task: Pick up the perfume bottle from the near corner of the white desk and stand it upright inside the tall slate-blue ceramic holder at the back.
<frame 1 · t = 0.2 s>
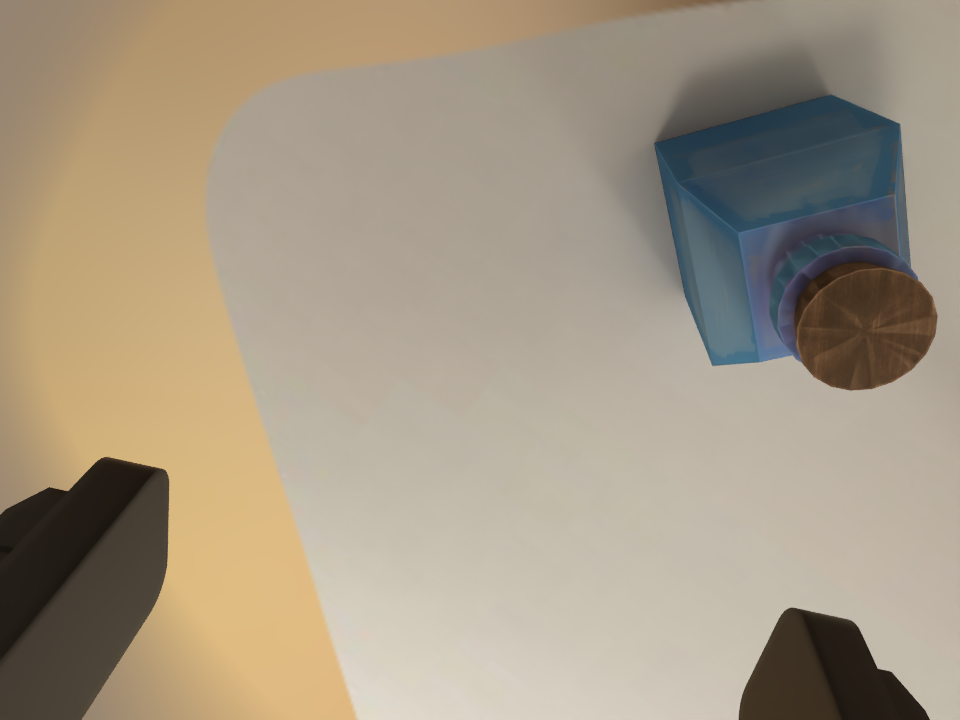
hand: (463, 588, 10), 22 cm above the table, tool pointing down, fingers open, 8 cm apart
perfume bottle: (752, 200, 30), on the table
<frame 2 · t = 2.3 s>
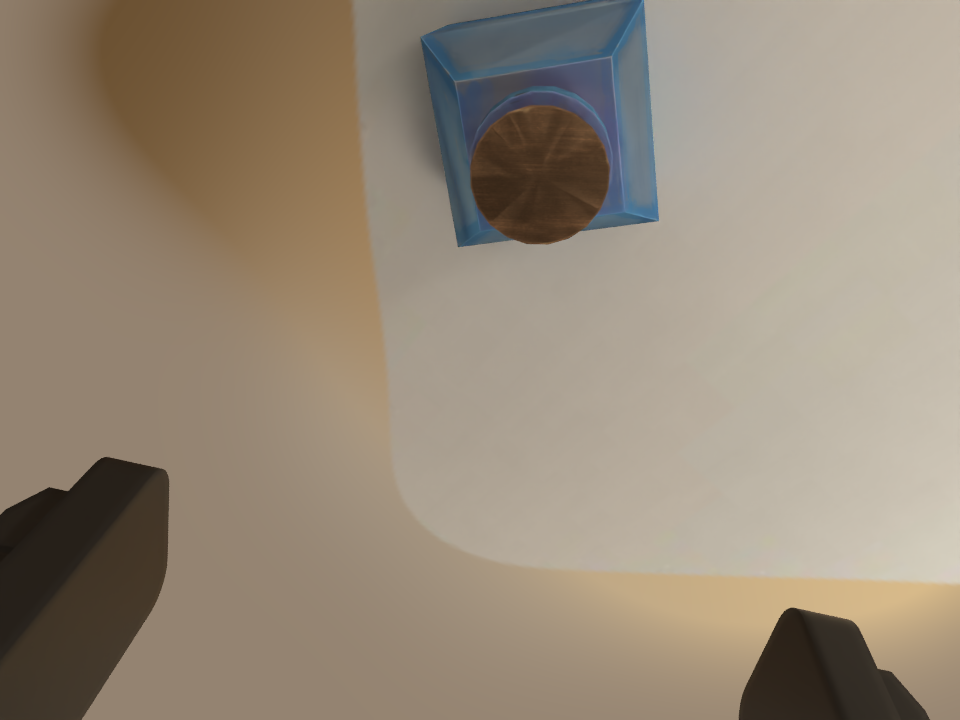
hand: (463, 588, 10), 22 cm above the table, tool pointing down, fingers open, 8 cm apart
perfume bottle: (546, 101, 29), on the table
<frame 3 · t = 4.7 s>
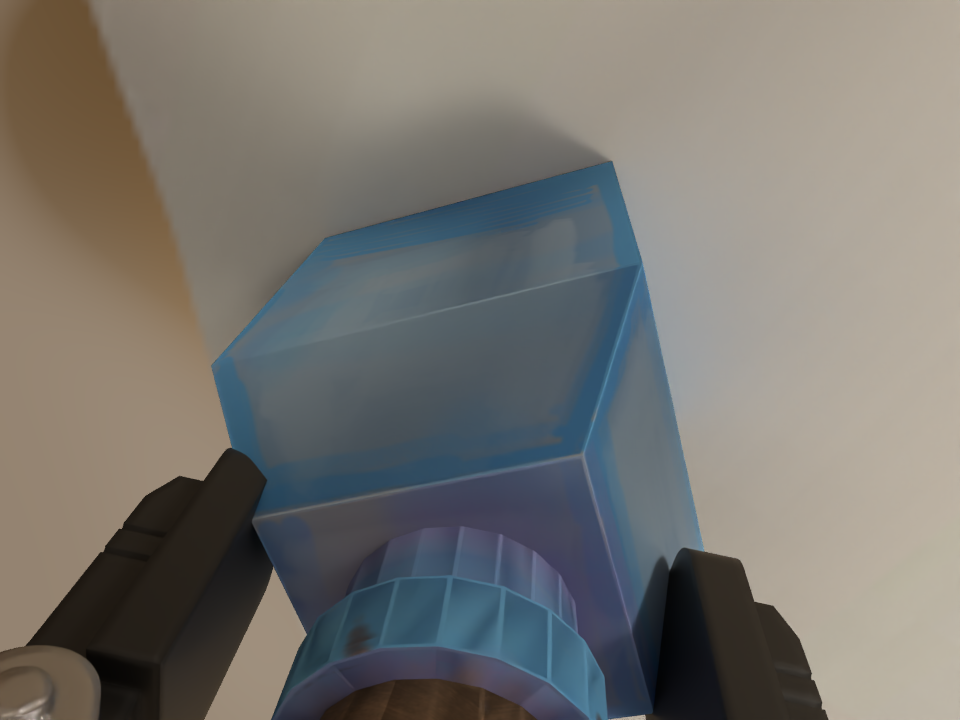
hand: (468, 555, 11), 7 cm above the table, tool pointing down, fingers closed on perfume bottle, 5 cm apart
perfume bottle: (503, 331, 18), on the table, touching gripper
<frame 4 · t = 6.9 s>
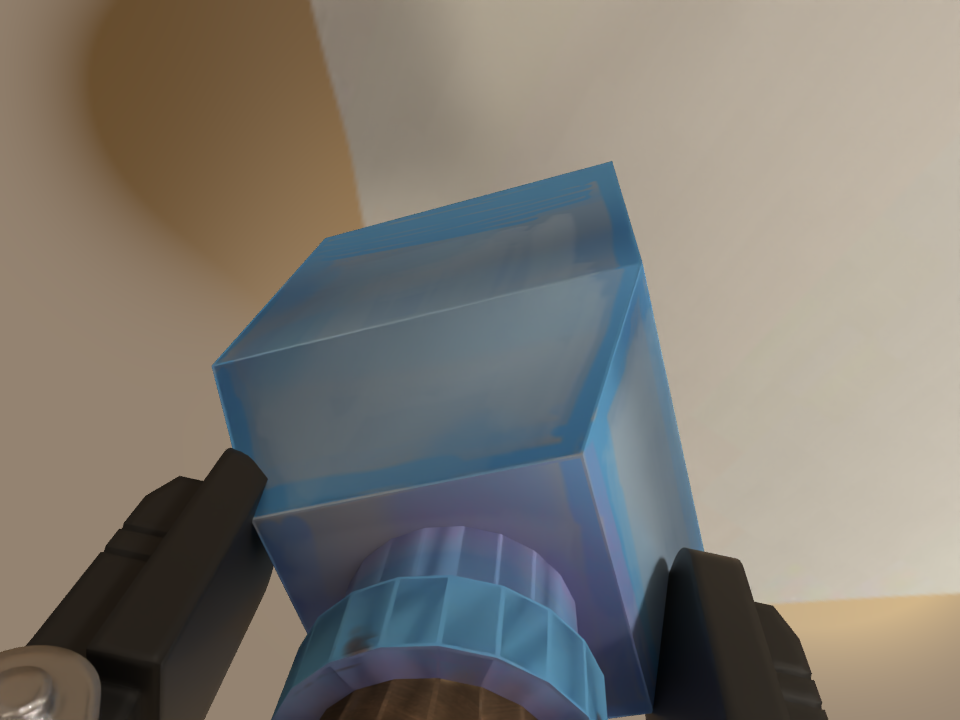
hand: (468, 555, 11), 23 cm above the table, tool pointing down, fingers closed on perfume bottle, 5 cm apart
perfume bottle: (504, 331, 18), point 15 cm above the table, touching gripper
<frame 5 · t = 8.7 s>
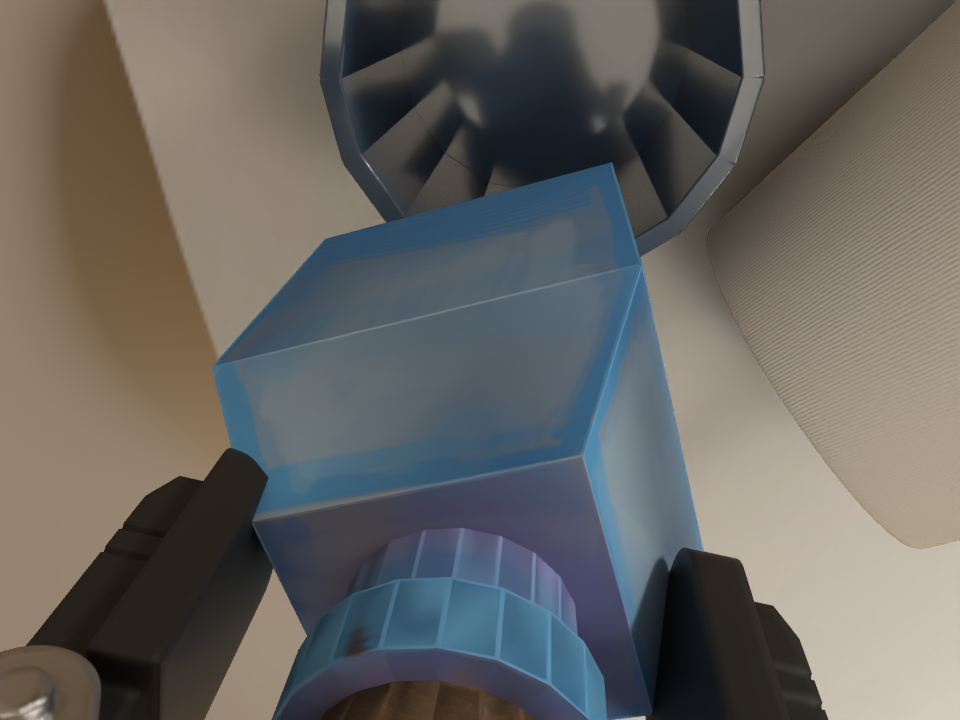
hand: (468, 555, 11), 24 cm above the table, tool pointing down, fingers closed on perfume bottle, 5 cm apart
perfume bottle: (503, 331, 18), point 16 cm above the table, touching gripper
holder: (542, 48, 30), on the table
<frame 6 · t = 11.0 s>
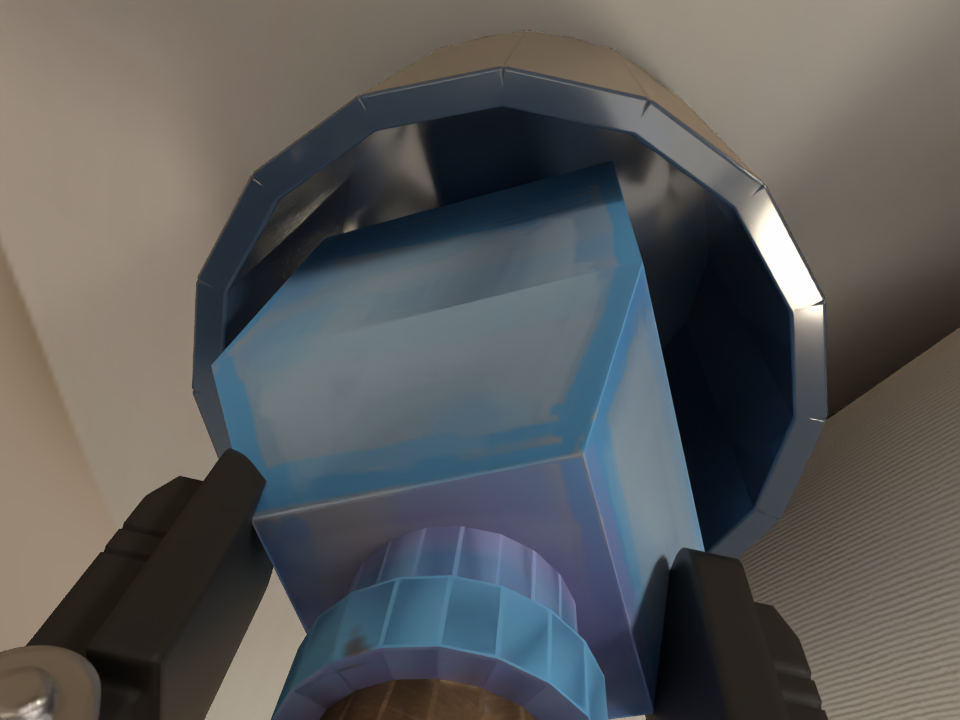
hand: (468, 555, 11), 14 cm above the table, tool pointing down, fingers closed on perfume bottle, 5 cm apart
perfume bottle: (504, 330, 18), point 7 cm above the table, touching gripper
holder: (522, 242, 24), on the table
when the fingers open (9 cm above the table, at t = 13.3 s): perfume bottle stays where it is, resting on holder.
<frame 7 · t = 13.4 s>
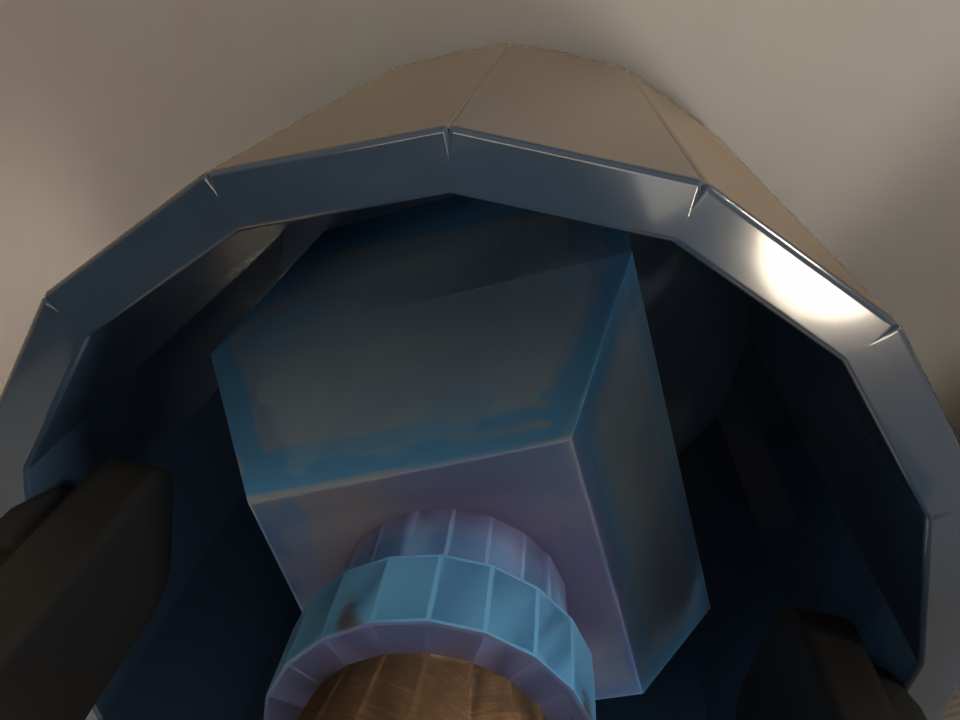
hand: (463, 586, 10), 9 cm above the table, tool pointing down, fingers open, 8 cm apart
perfume bottle: (501, 323, 18), point 1 cm above the table, touching holder
holder: (508, 313, 18), on the table
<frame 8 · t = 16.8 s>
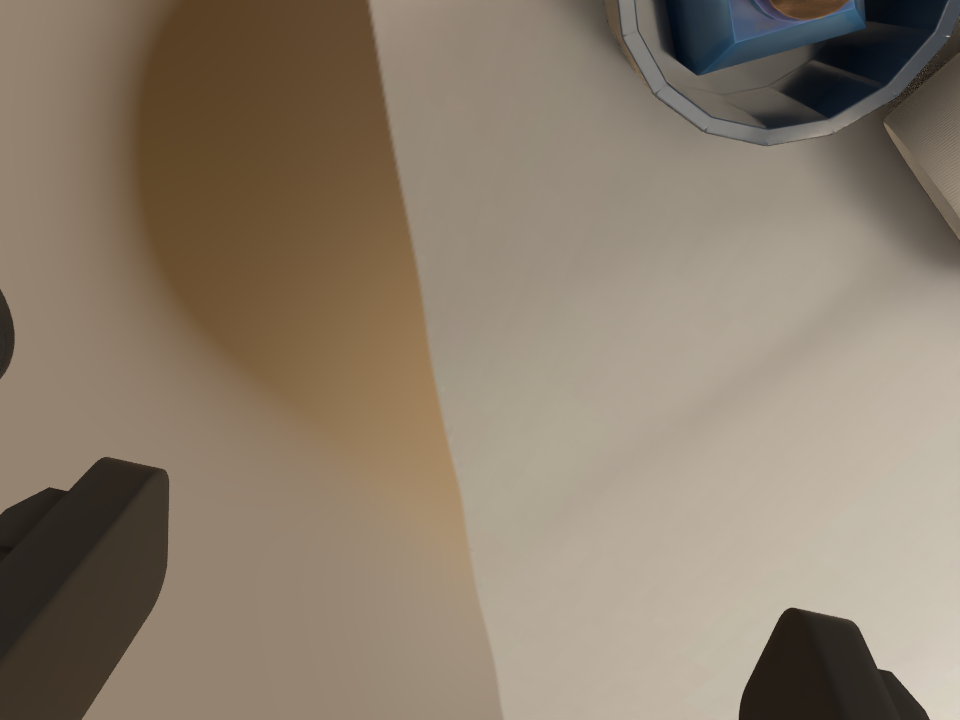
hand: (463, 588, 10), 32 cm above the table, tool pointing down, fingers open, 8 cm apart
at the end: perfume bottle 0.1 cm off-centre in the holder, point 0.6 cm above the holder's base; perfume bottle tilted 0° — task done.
